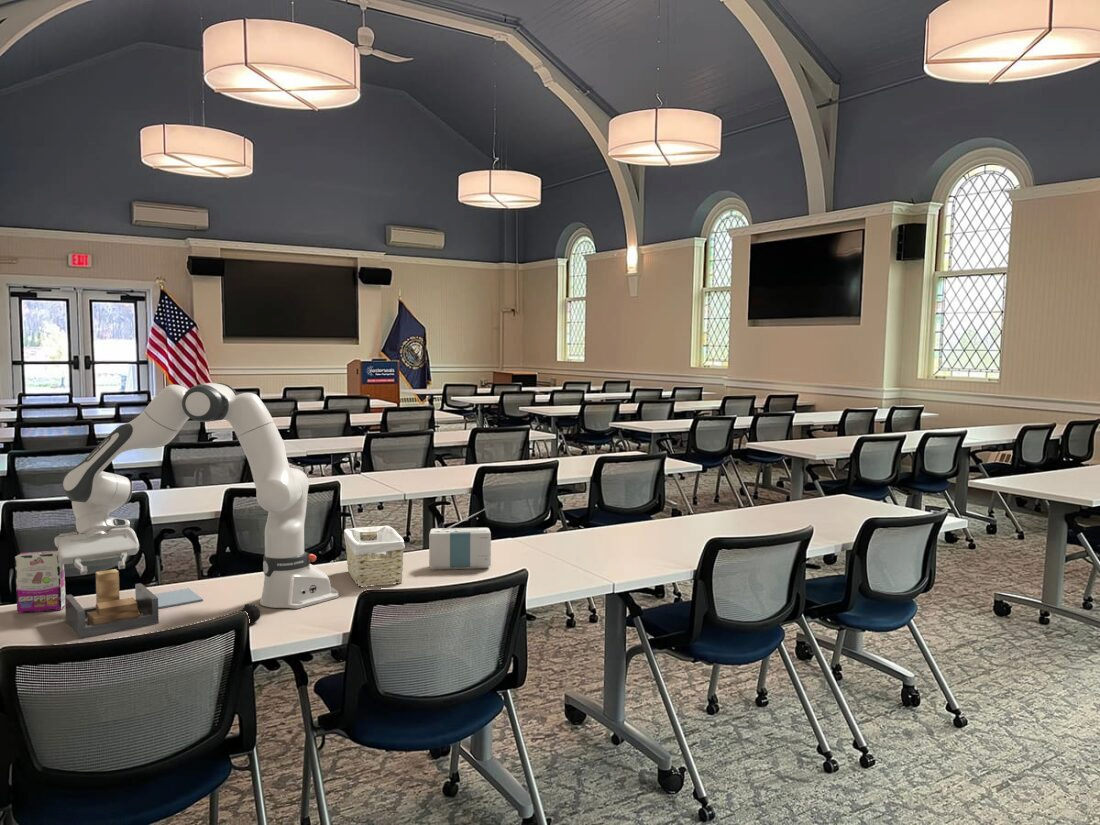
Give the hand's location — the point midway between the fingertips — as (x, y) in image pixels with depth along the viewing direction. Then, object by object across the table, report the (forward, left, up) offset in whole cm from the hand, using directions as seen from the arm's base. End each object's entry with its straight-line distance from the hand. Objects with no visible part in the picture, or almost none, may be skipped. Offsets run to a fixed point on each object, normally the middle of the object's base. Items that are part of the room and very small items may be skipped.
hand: (103, 570), depth 227 cm
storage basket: (-77, +14, -13) cm, 79 cm away
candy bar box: (+13, -15, -12) cm, 23 cm away
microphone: (-22, +33, -13) cm, 42 cm away
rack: (0, +9, -12) cm, 15 cm away
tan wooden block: (0, +5, -12) cm, 13 cm away
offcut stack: (0, +12, -12) cm, 17 cm away
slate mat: (-18, -2, -12) cm, 22 cm away
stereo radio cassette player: (-106, +20, -13) cm, 109 cm away
